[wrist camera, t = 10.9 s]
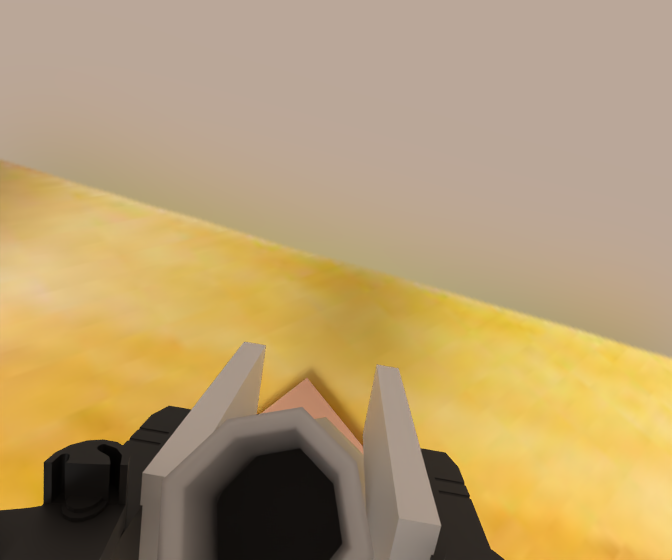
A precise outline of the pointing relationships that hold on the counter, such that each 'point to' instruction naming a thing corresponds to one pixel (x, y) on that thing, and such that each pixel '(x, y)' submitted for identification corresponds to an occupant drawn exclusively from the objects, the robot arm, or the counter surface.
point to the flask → (267, 494)
